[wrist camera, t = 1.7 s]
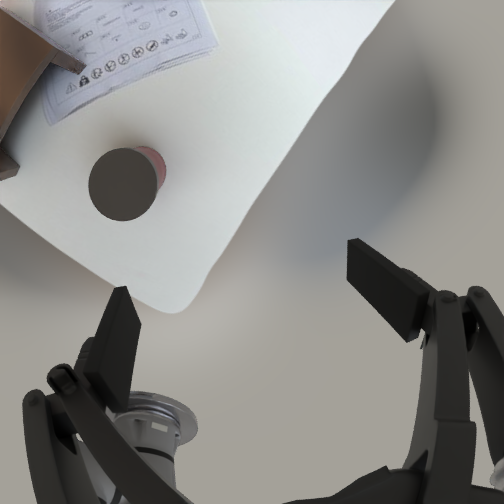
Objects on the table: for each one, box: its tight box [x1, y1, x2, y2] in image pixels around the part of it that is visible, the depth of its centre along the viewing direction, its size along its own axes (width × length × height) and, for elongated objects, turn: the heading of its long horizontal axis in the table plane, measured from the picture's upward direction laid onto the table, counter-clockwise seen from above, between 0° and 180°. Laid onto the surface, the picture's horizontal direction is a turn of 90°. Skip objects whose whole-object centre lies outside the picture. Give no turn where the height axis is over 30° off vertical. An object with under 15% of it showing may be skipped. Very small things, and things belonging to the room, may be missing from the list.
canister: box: [88, 147, 166, 221], centre depth 27 cm, size 7×7×10 cm
